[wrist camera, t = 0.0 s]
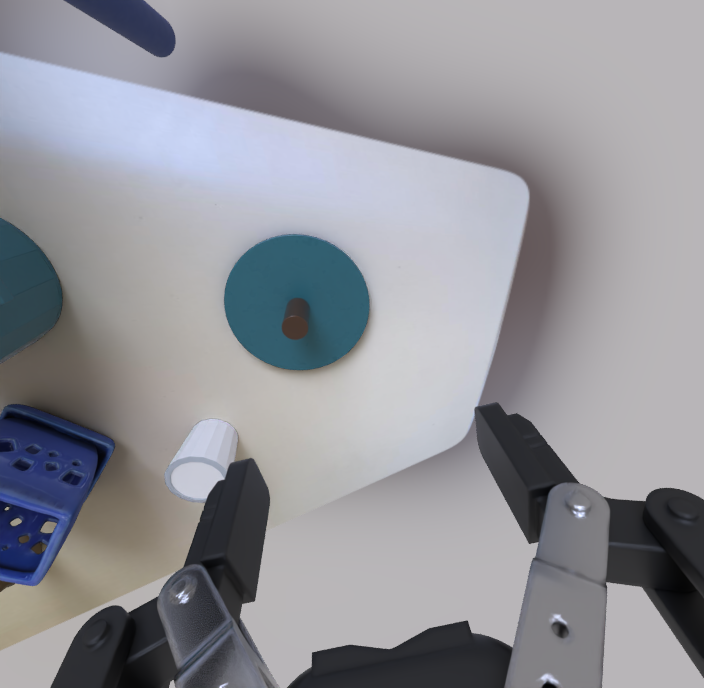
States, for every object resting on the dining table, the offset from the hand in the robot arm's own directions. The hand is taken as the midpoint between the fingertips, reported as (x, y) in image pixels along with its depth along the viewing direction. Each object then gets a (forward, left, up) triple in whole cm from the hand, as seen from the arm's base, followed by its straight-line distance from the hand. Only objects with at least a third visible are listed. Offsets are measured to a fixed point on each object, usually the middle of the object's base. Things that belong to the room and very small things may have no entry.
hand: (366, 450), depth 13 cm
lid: (+3, -5, -26) cm, 26 cm away
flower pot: (+13, -38, -26) cm, 48 cm away
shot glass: (+17, -20, -26) cm, 37 cm away
